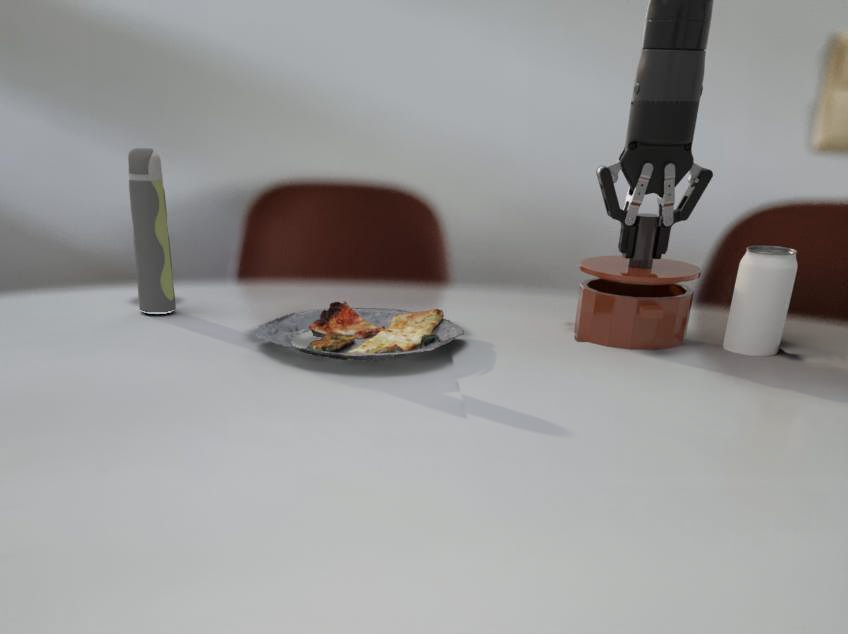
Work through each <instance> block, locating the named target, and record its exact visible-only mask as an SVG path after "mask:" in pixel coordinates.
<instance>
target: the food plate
mask: <svg viewBox="0 0 848 634" xmlns="http://www.w3.org/2000/svg"><path fill="white" fill-rule="evenodd" d="M444 317H445V314H444V311H443V310H442V309H439V308H434V309H433V308H432V309H429V310H421V311H415V312H414V311H413V312H412V311H407V310H404V309H403V310H402V309H395V308H393V309H392V308H381V307H350V305H349V304H348V302H347V301H346V300H343V302H340V301H334V302H331V303H330V304H329V307H328V308H324V309H316V310H315V309H313V310H310V311H308V310H307V311H305V312H304V311H303V312H292V313H289V314H286V315H282V316H280V317H277V318H275V319H272V320H270V321H268V322H265V323H262V324H260V325H258V326H257V328H256V329H255V332H254V334H255V337H256V338H258V339H260V340H262V341H263V340H266V341H269V342H271V343H273V344H275V345H277V346H280V347H282V348H286V349H287V347H288V348H290V349H293V350H296V351H299V352H300V353H303V354H306V355H310V356H313V355H314V356H313V357H320V356H321V358H325V357H328V358H330V359H333V360H341V361H347V360H352V361H357V362H359V361H366V362H368V363H370V362H371V361H372V362H374V363H377V364H378V363H384V362H385V361H386V360H388V359H396V355H401V354H402V355H401V357H405V356H407V355H410V356H414V355H415V354H416V353H423V352H430V351H434V350H436V349H438V348H439V347H442V346H444V345H445V346H446V345H447V344H449V343H451V342H452V341H453V340H456V339H457V338H458V337H460V336H463V335H464V329H462V327H460V326H459V325H456V324H455V323H454V322H452V321H451V320H450V319H447V318H444ZM302 329H307V330H304V331H303V332H302V333H305V332H308V331H310V330H311V331H312V333H313V336H316V337H322V338H321V339H320V340H314V341H312V342H310V343H309V344H308V346H307V348H299V347H296V346H293V345H292V343H291V342H292V340H293V339H292V338H294V337H295V336H294V335H293V333H292V334H290V333H289V332H296V335H300V333H297V331H299V330H302ZM369 338H371V339H369ZM328 358H327V359H328Z"/></svg>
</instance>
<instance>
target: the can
mask: <svg viewBox="0 0 848 634" xmlns="http://www.w3.org/2000/svg"><path fill="white" fill-rule="evenodd" d="M797 253H798V250H796V249H794V248H791V247H784V246H777V245H751V246H750V245H749V246H747V247H746V252H745V253H744V255H743V256H742V258H741V259H740V261H739V264H738V269H737V272H736V273H737V274H736V277H735V284H734V288H733V293H732V298H731V303H730V308H729V312H728V318H727V323H726V329H725V334H724V338H723V343H722V348H723V349H724V350H726V351H728V352H731V353H734V354H737V355H743V356H751V357H767V356H768V357H769V356H774V355H777V354H778V353H779V350H780V345H781V342H782V337H783V332H784V328H785V324H786V321H787V317H788V312H789V308H790V303H791V298H792V294H793V290H794V285H795V281H796V276H797V272H798V266H799V265H798V260H797Z"/></svg>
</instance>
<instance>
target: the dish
mask: <svg viewBox="0 0 848 634" xmlns="http://www.w3.org/2000/svg"><path fill="white" fill-rule="evenodd" d="M578 289H579V290H578V295H577V305H576V313H575V321H574V330H573V333H574V339H575V340H576V342H578V343H590V344H594V345H599V346H602V347H607V348H616V349H622V350H623V349H624V350H635V351H636V350H637V351H639V350H641V351H656V350H665V349H667V350H668V349H673V348H677V347H679V346H683V345H684V344H685V342H686V337H687V332H688V326H689V322H690V316H691V315H690V314H691V310H692V306H693V300H694V293H695V290H694V289H693V288H691V287H690V286H689V285H686V284H682V283H680V282H679V283H675V284H668V285H636V284H626V283H619V282H613V281H608V280H604V279H601V278H599V277H592V278H589V279H585V280H583V281H582V282H581V283H580V284H579V288H578Z"/></svg>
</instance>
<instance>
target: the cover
mask: <svg viewBox="0 0 848 634" xmlns="http://www.w3.org/2000/svg"><path fill="white" fill-rule="evenodd" d="M659 222H660V215H658V213H657V214H656V213H645V212H642V213H641V212H638V213H637V216H636V220H635V222H634V226H636V230H635V237H634V244H633V250H632V256H631V259H625V258H624V257H622V255H601V256H600V255H599V256H592V257H587V258H584V259H582V260H581V261H579V266H578V270H580V271H581V272H582V273H584V274H587V275H590V276H592V277H595V278H597V277H599V278H601V279H604V280H608V281H613V282H619V283H626V284H636V285H668V284H675V283H679V284H680V283H685V282H692V281H694V280H697V279H699V278H701V276H702V275H701V274H702V269H701V267H699V266H697V265H695V264H692V263H690V262H685V261H680V260H675V259H670V258H664V257H661V259H654V254H655V247H656V241H657V235H658V229H659Z"/></svg>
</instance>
